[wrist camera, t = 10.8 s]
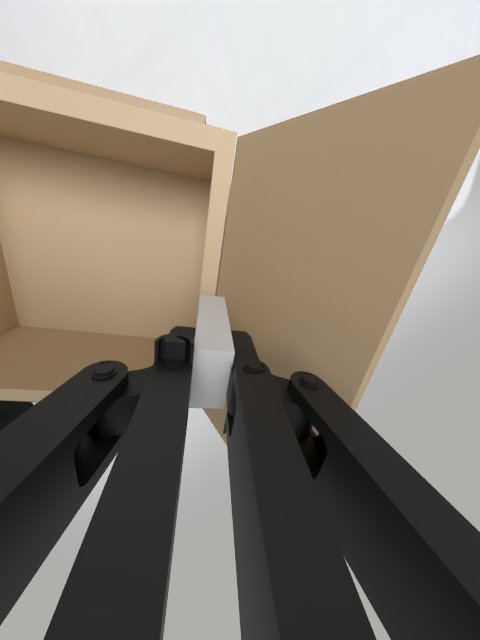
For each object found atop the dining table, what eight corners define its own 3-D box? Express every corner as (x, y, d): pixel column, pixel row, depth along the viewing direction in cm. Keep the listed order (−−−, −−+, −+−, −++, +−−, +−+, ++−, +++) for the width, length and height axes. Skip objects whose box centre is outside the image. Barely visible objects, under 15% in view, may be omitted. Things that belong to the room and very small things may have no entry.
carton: (12, 333, 29) (-111, 400, 18) (-43, 105, 20) (-346, -37, 9) (203, 350, 33) (199, 412, 22) (226, 167, 24) (238, 120, 13)
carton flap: (289, 540, 13) (297, 531, 14) (519, 40, 5) (521, 61, 6) (201, 406, 22) (208, 403, 22) (237, 137, 14) (247, 142, 14)
